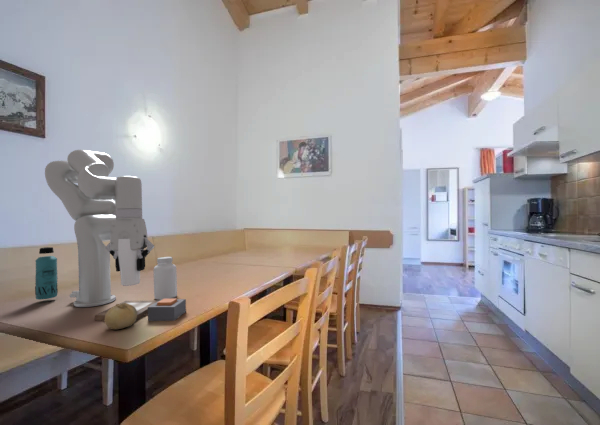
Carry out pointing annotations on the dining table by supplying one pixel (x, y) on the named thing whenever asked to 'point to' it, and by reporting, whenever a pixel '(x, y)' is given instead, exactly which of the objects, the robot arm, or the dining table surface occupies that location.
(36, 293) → the beverage bottle
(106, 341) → the dining table surface
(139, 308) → the pallet
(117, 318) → the onion
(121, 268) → the drinking glass
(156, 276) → the pill bottle
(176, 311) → the button housing
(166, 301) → the button
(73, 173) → the robot arm
